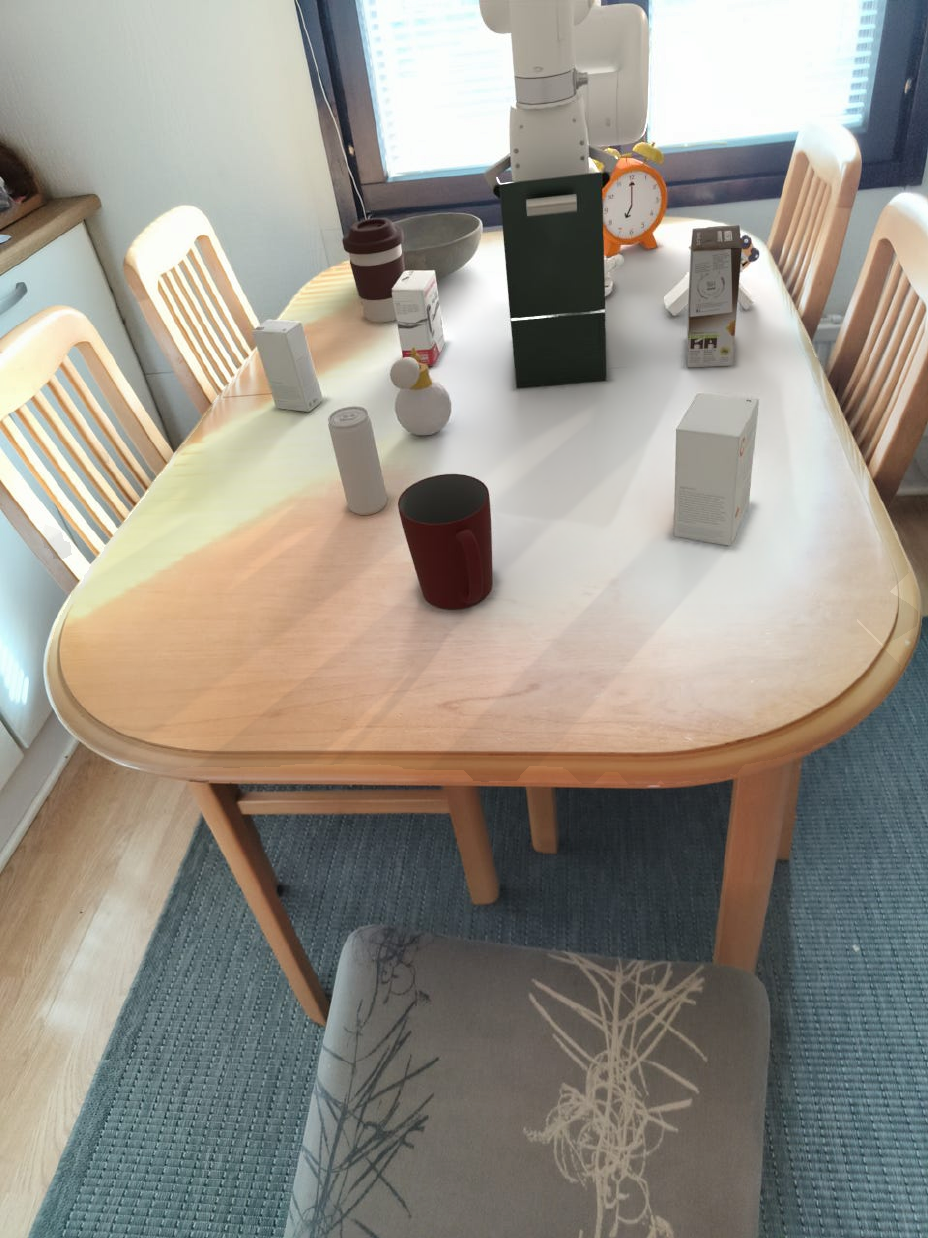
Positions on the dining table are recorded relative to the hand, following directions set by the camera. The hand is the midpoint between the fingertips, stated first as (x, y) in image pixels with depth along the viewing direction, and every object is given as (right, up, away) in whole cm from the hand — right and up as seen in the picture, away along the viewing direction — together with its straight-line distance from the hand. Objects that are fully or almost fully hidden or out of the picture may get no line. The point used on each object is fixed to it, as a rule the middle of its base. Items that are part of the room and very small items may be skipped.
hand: (553, 230), depth 121 cm
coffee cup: (-26, -1, +31) cm, 40 cm away
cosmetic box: (-36, -22, +9) cm, 43 cm away
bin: (+2, -15, +9) cm, 18 cm away
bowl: (-19, +11, +44) cm, 49 cm away
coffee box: (+23, -15, +6) cm, 28 cm away
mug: (-12, -51, -30) cm, 60 cm away
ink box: (-18, -12, +17) cm, 28 cm away
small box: (+14, -43, -25) cm, 51 cm away
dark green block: (-1, -5, -7) cm, 9 cm away
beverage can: (-24, -40, -14) cm, 48 cm away
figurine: (+26, -5, +17) cm, 32 cm away
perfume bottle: (-17, -28, -2) cm, 33 cm away
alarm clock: (+18, +15, +42) cm, 48 cm away
